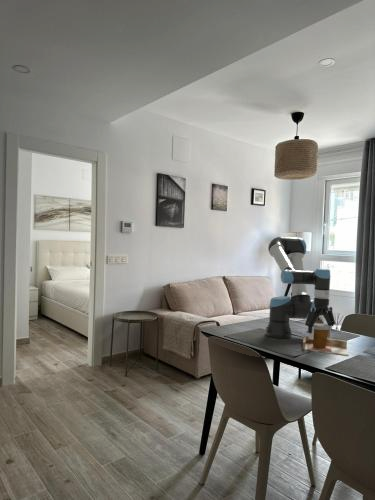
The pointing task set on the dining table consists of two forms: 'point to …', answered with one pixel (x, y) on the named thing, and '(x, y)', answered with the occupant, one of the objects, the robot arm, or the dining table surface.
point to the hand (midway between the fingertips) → (319, 338)
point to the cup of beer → (320, 335)
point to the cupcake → (319, 320)
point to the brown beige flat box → (327, 346)
